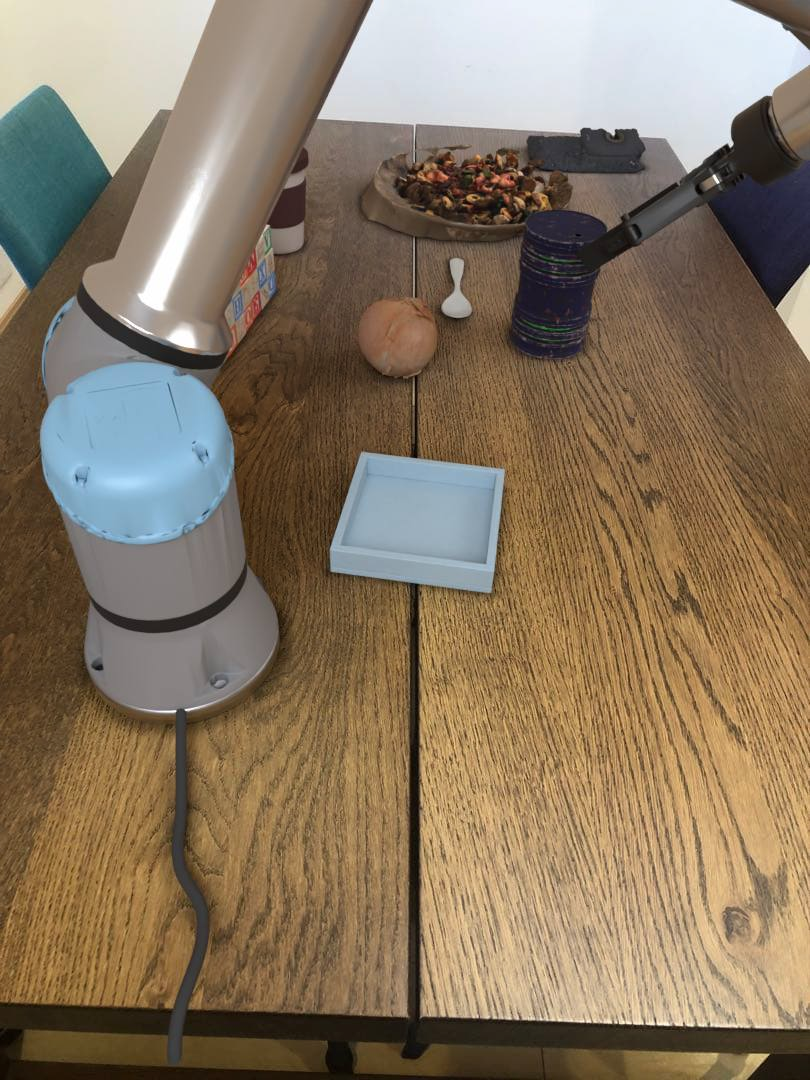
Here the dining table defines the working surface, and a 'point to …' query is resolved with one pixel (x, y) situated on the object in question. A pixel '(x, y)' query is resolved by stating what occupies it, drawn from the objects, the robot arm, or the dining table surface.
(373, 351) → the onion
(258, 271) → the stack of blocks
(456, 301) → the spoon
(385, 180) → the food dish
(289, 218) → the coffee cup
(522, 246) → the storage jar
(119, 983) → the dining table surface
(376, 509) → the tray
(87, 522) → the robot arm
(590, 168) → the dark slate chunk
